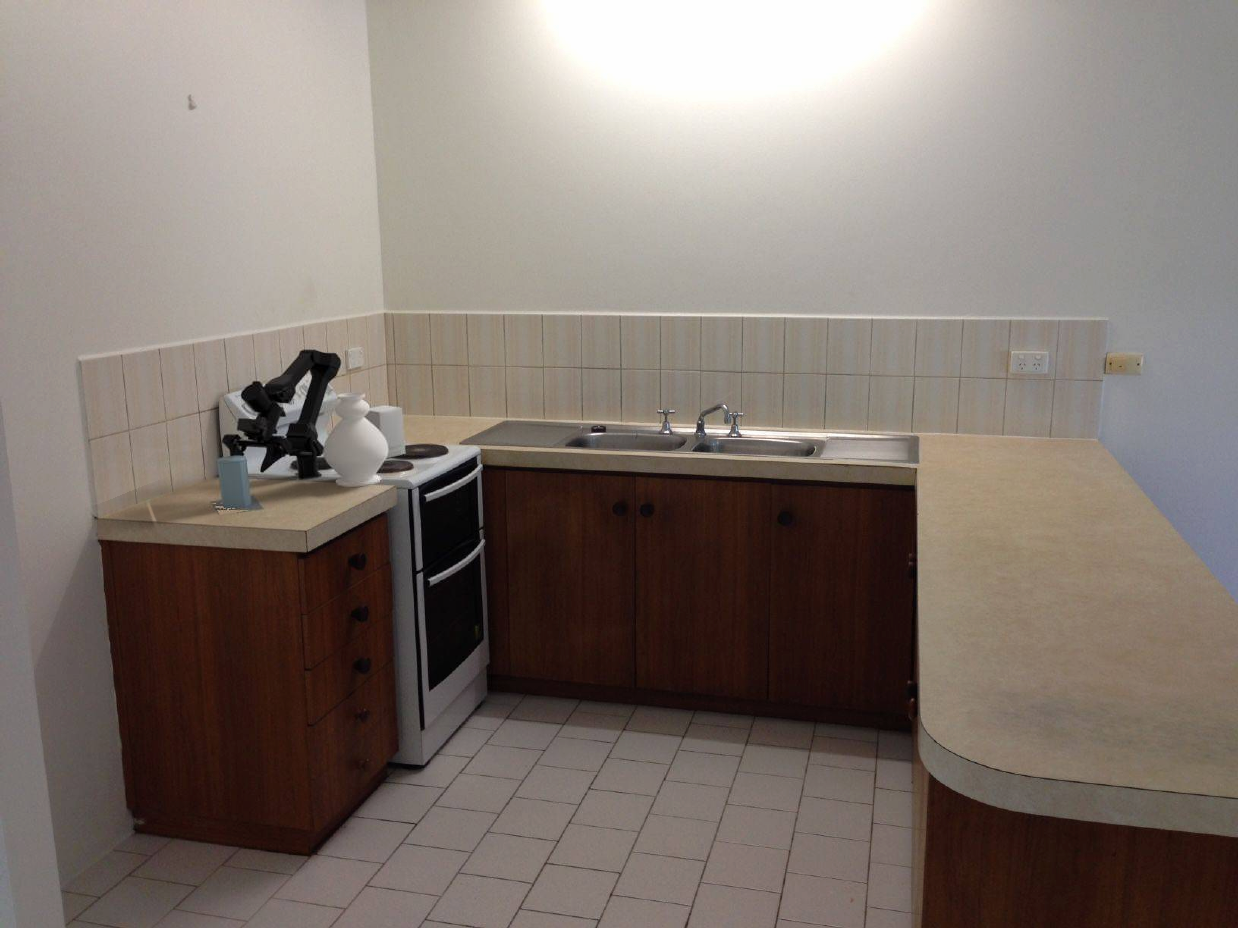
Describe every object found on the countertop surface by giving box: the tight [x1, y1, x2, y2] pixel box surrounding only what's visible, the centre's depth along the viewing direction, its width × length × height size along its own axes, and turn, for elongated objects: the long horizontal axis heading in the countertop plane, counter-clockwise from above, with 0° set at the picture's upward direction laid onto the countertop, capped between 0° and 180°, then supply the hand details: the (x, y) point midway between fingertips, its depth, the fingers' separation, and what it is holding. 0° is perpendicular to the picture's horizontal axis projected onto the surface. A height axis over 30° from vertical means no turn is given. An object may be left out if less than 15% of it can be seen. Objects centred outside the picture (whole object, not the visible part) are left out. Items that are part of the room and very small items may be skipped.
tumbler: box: [216, 455, 252, 509], centre depth 284 cm, size 7×7×12 cm
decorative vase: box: [323, 391, 388, 488], centre depth 306 cm, size 18×18×25 cm
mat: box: [210, 495, 264, 514], centre depth 286 cm, size 16×11×1 cm
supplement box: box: [364, 404, 406, 459], centre depth 339 cm, size 9×9×15 cm
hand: (246, 471), depth 289 cm, fingers open, 9 cm apart
